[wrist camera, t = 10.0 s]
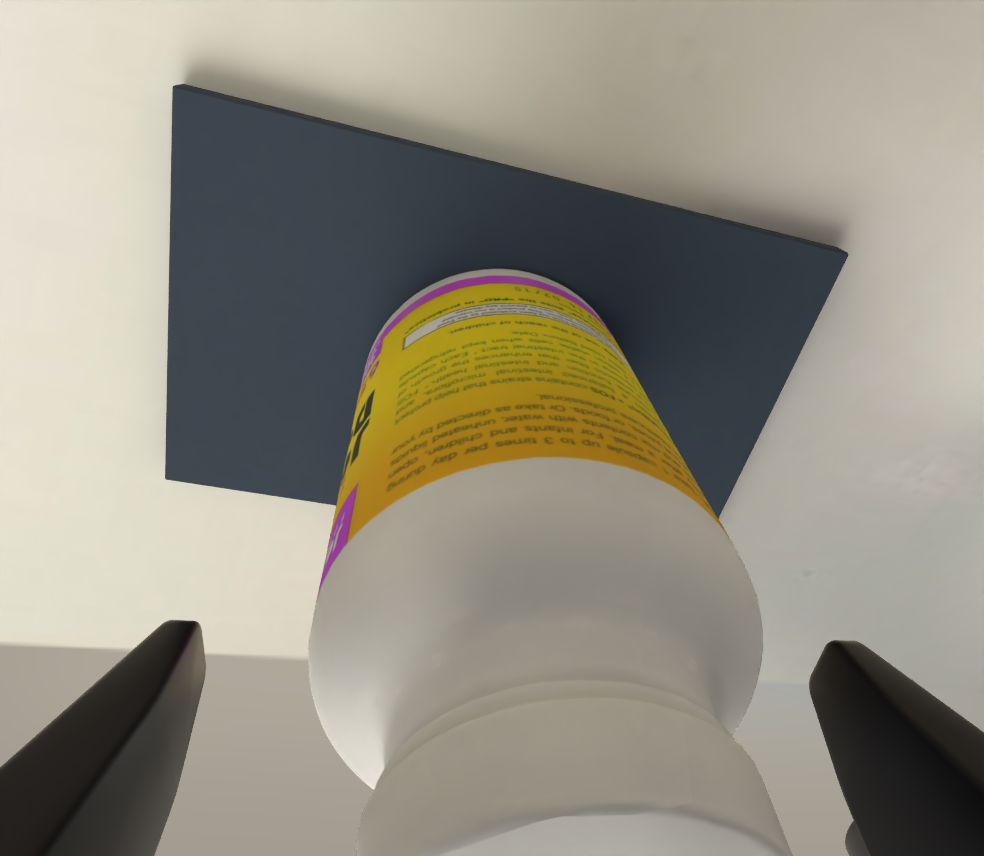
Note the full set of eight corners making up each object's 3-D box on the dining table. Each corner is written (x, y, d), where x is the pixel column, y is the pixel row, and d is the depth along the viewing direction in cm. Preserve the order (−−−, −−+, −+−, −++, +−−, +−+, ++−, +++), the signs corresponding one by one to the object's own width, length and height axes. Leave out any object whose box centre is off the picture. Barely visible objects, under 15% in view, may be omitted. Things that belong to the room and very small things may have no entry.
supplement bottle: (342, 274, 16) (144, 778, 5) (617, 247, 17) (993, 681, 5) (386, 501, 20) (321, 1105, 9) (614, 477, 20) (843, 1040, 9)
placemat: (837, 247, 18) (850, 253, 17) (692, 548, 22) (697, 560, 22) (181, 83, 15) (172, 84, 14) (171, 468, 19) (164, 480, 19)
